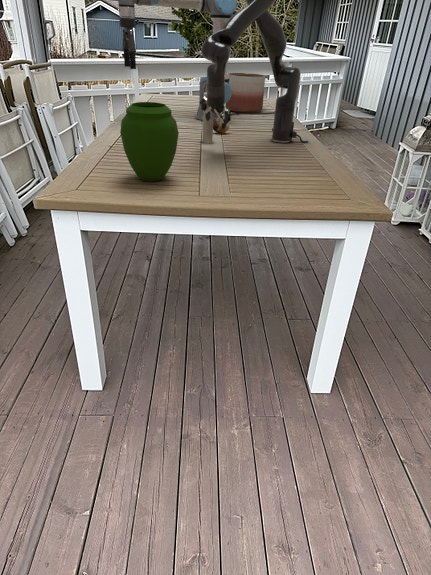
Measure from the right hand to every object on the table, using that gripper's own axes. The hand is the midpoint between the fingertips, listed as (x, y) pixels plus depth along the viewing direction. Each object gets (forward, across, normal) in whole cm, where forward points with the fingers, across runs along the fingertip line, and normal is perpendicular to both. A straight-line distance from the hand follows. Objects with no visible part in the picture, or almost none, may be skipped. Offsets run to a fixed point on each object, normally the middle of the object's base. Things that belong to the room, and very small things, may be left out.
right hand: (215, 123), depth 179 cm
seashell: (+28, +14, -21) cm, 38 cm away
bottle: (+17, +8, -3) cm, 19 cm away
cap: (-1, +14, -12) cm, 18 cm away
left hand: (+7, +65, -11) cm, 66 cm away
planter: (+68, +42, -84) cm, 116 cm away
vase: (-14, -10, +49) cm, 52 cm away
